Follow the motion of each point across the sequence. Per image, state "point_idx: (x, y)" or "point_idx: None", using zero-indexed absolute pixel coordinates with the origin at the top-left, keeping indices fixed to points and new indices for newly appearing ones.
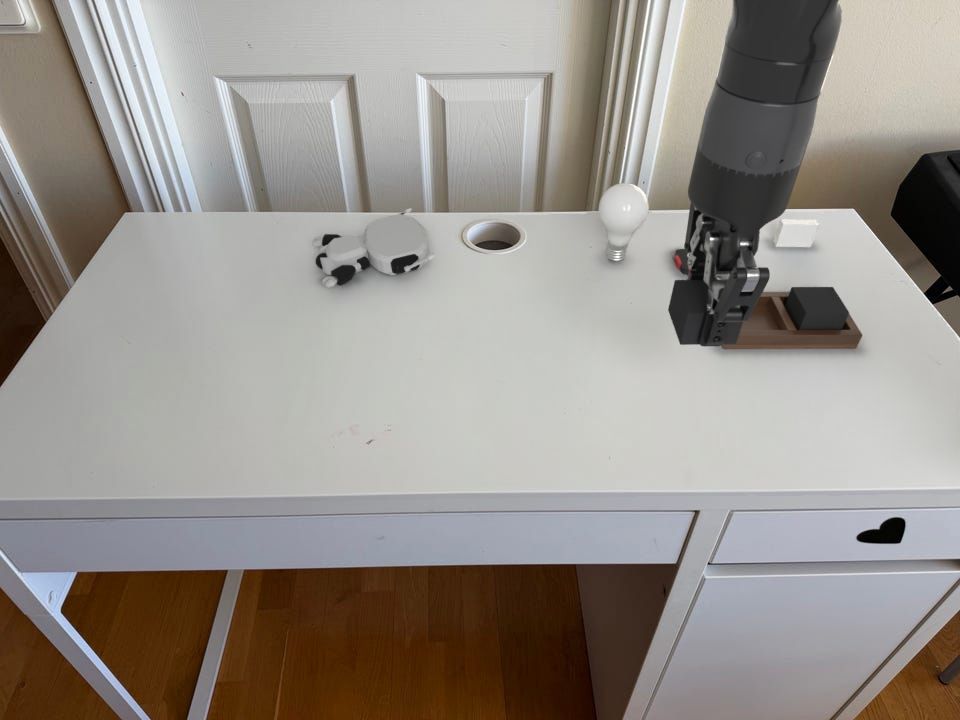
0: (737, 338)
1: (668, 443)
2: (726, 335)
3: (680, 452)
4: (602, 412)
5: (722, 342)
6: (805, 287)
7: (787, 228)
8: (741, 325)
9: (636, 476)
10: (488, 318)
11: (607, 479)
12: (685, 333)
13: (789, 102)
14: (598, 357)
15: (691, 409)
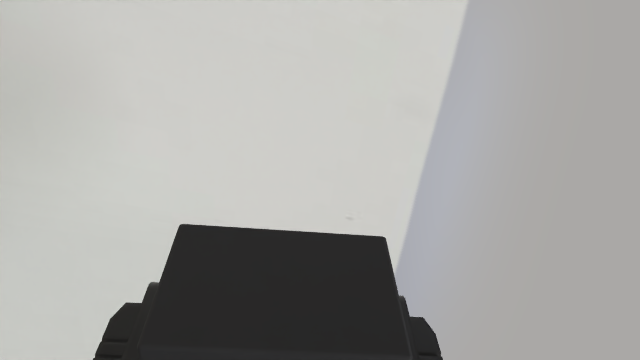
0: (388, 254)
1: (333, 121)
2: (410, 325)
3: (358, 107)
4: (246, 209)
5: (432, 334)
6: None
7: None
8: (399, 303)
9: (395, 190)
10: (11, 330)
11: (391, 229)
12: None
13: None
14: (91, 188)
15: (244, 48)
